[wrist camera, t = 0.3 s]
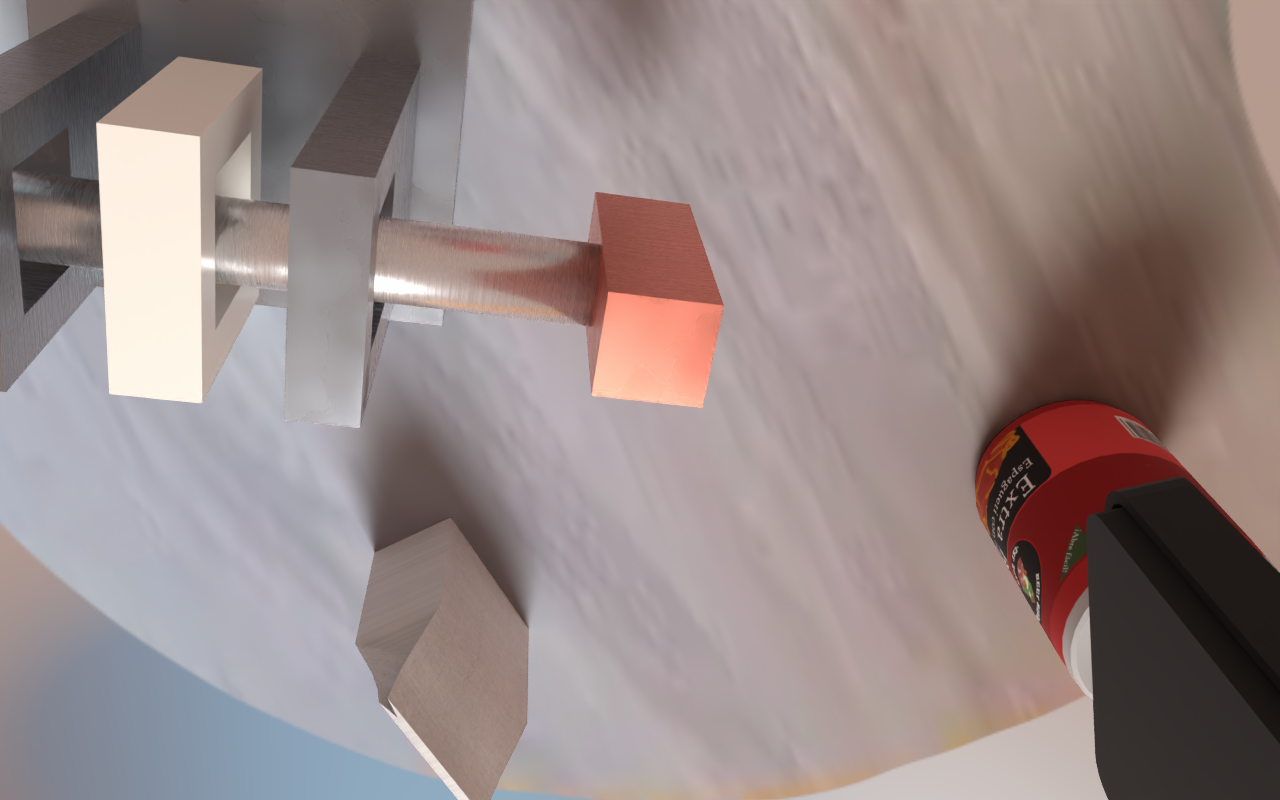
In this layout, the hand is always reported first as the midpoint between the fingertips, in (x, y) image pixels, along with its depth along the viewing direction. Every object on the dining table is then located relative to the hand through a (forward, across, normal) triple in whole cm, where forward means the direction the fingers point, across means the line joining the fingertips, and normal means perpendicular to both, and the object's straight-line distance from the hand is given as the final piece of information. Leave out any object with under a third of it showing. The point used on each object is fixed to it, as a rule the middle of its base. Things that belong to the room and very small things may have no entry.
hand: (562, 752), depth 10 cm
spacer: (+26, +11, +1) cm, 28 cm away
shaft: (+29, +7, +3) cm, 30 cm away
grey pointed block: (+35, +9, +22) cm, 43 cm away
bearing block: (+35, +11, +1) cm, 36 cm away
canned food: (+35, -17, +22) cm, 45 cm away
